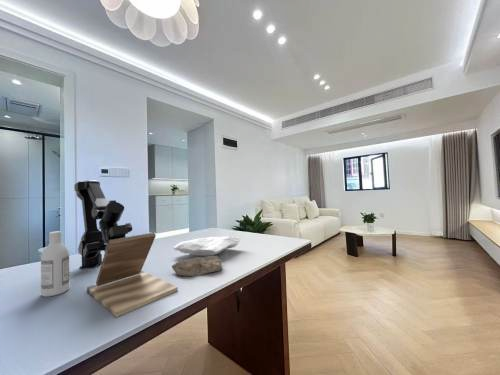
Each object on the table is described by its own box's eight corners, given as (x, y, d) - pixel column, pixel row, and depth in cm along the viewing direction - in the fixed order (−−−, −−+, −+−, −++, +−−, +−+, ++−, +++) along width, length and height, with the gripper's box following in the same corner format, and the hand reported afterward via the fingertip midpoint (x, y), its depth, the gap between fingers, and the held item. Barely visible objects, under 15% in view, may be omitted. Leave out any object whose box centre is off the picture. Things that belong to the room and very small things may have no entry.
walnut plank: (95, 282, 71) (108, 240, 64) (138, 269, 82) (154, 232, 75) (97, 286, 71) (110, 244, 63) (140, 273, 82) (155, 235, 74)
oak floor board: (87, 290, 71) (87, 287, 71) (141, 273, 85) (141, 270, 85) (116, 317, 55) (116, 312, 55) (177, 290, 70) (177, 286, 70)
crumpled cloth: (249, 253, 104) (248, 235, 105) (173, 263, 92) (173, 241, 93) (235, 249, 125) (234, 233, 127) (173, 256, 113) (172, 239, 115)
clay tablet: (171, 281, 78) (224, 272, 84) (171, 267, 78) (224, 260, 85) (172, 269, 91) (218, 262, 98) (172, 257, 91) (218, 251, 98)
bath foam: (67, 285, 75) (66, 229, 76) (71, 291, 71) (70, 231, 71) (39, 293, 70) (39, 232, 70) (42, 299, 66) (42, 234, 66)
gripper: (85, 219, 71) (96, 259, 64) (142, 214, 86) (156, 245, 79) (78, 240, 76) (88, 278, 69) (133, 231, 90) (146, 262, 83)
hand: (122, 265), depth 75 cm, fingers closed, pressing on walnut plank
